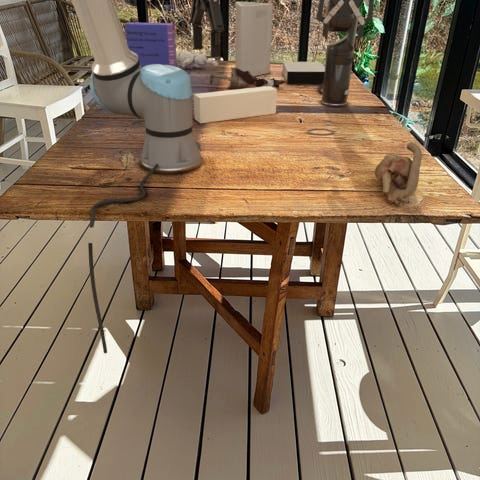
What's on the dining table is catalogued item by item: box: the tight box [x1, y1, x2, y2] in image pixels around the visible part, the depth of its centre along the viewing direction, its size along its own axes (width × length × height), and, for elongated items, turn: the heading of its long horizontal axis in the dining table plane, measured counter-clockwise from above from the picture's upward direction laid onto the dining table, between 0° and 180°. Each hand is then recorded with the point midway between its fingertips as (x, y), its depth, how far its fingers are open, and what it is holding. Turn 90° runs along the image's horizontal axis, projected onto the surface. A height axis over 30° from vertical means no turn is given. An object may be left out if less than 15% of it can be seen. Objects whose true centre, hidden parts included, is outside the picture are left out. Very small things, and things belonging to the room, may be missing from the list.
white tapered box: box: [234, 1, 274, 77], centre depth 210 cm, size 19×15×28 cm
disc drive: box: [281, 61, 325, 85], centre depth 207 cm, size 18×22×5 cm
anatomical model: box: [374, 141, 423, 205], centre depth 107 cm, size 13×9×15 cm
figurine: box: [209, 66, 287, 89], centre depth 190 cm, size 24×8×30 cm
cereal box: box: [124, 21, 178, 68], centre depth 181 cm, size 17×5×24 cm, turn 86°
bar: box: [193, 86, 278, 124], centre depth 157 cm, size 28×5×8 cm, turn 116°
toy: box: [176, 50, 219, 69], centre depth 223 cm, size 24×25×7 cm
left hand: (206, 53), depth 145 cm, fingers open, 13 cm apart
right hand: (341, 39), depth 128 cm, fingers open, 8 cm apart
